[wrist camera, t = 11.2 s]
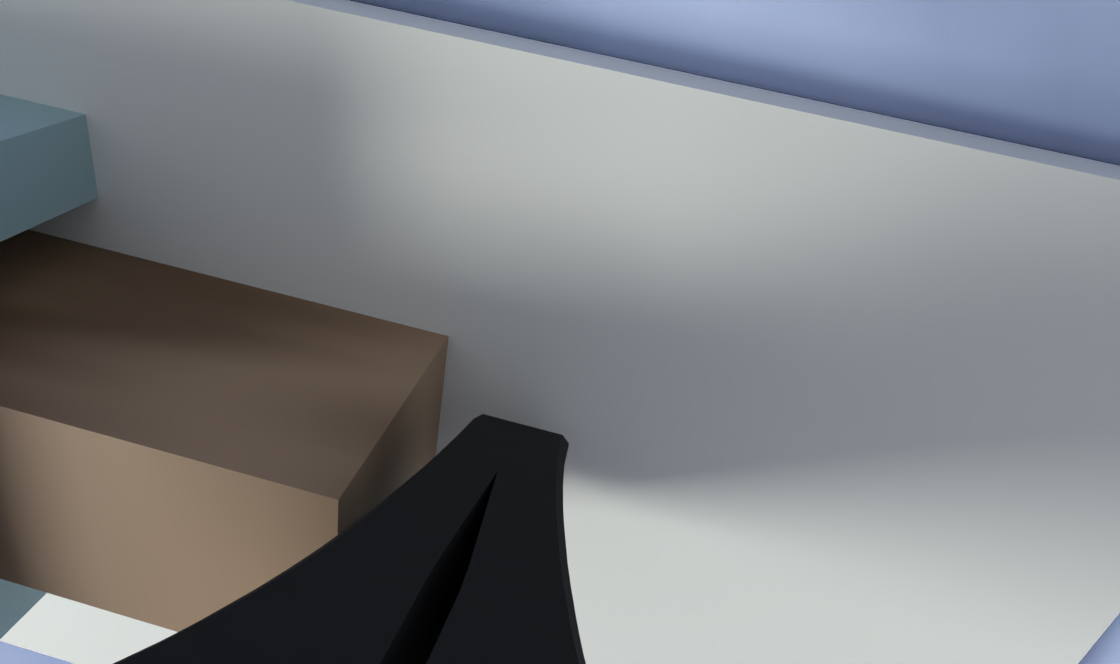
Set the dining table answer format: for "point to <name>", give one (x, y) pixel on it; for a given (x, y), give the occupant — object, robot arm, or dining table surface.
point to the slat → (190, 427)
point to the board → (651, 313)
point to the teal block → (38, 215)
